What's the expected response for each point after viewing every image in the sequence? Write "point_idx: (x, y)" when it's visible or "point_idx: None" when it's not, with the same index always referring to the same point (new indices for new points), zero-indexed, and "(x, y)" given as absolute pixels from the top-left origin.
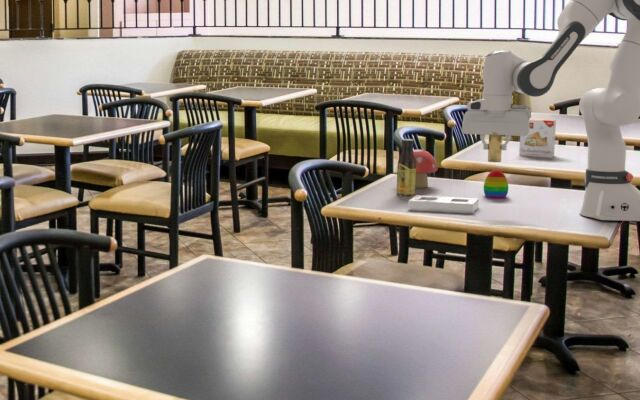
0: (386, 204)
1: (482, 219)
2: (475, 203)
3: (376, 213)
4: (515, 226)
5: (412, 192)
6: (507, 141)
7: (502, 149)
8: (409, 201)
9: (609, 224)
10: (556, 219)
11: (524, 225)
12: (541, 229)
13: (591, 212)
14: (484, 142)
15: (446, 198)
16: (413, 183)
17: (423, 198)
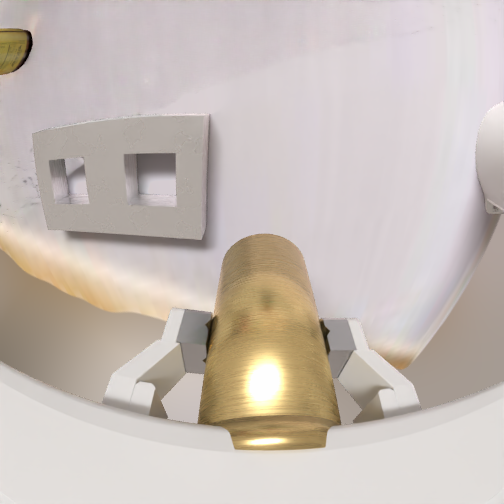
0: (9, 160)
1: None
2: (202, 188)
3: (39, 266)
4: None
5: (20, 56)
6: (365, 398)
7: None
8: (50, 229)
9: (467, 277)
10: (407, 253)
11: None
12: None
13: (485, 188)
14: (174, 380)
15: (105, 156)
16: (4, 54)
17: (54, 158)
